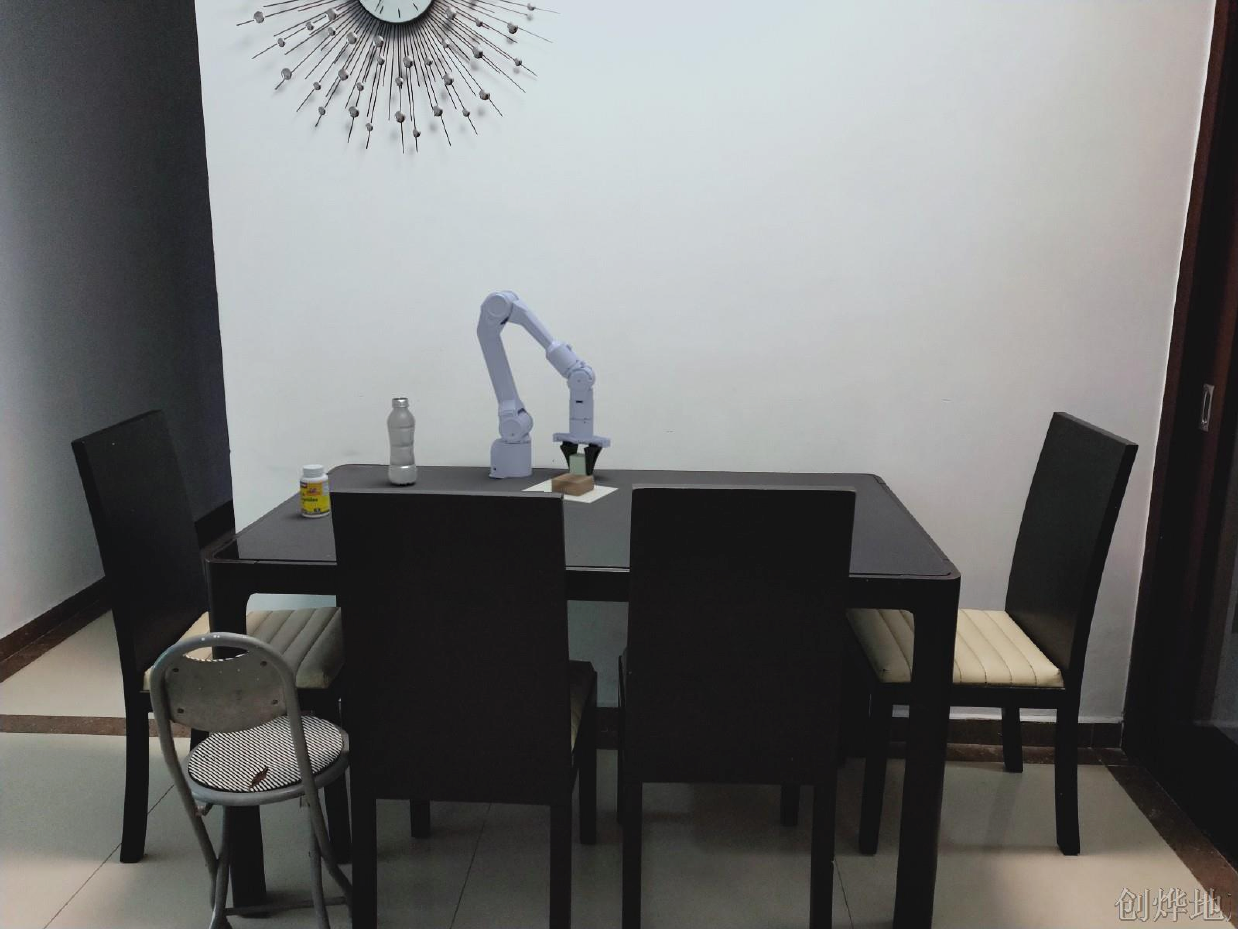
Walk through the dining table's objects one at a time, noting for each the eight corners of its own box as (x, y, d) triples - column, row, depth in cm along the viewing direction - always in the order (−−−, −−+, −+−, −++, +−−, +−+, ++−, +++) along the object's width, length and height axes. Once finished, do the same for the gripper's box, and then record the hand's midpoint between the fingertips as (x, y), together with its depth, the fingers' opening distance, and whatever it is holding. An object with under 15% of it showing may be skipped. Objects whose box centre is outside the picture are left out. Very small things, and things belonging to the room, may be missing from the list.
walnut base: (551, 492, 211) (551, 479, 210) (566, 485, 217) (566, 473, 216) (578, 496, 208) (579, 483, 207) (593, 489, 214) (593, 476, 213)
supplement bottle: (296, 517, 192) (292, 468, 190) (312, 510, 197) (309, 462, 195) (319, 519, 190) (316, 470, 188) (335, 512, 196) (332, 464, 193)
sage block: (569, 480, 225) (569, 455, 224) (577, 476, 229) (577, 452, 227) (584, 482, 223) (584, 457, 222) (592, 478, 227) (592, 454, 225)
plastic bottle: (382, 485, 218) (379, 399, 213) (400, 479, 224) (396, 395, 219) (406, 488, 215) (403, 402, 211) (423, 482, 222) (420, 397, 217)
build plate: (518, 495, 211) (518, 492, 210) (550, 482, 223) (550, 479, 223) (589, 506, 203) (589, 502, 203) (618, 491, 215) (618, 488, 215)
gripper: (546, 417, 222) (546, 473, 225) (600, 423, 216) (600, 481, 219) (561, 413, 228) (561, 467, 231) (614, 418, 222) (613, 474, 225)
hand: (581, 473), depth 226 cm, fingers closed on sage block, 4 cm apart
